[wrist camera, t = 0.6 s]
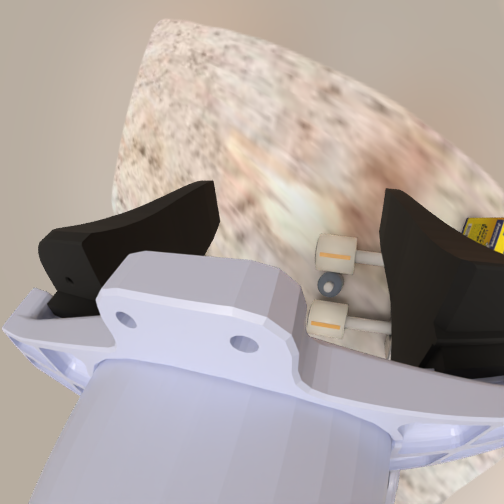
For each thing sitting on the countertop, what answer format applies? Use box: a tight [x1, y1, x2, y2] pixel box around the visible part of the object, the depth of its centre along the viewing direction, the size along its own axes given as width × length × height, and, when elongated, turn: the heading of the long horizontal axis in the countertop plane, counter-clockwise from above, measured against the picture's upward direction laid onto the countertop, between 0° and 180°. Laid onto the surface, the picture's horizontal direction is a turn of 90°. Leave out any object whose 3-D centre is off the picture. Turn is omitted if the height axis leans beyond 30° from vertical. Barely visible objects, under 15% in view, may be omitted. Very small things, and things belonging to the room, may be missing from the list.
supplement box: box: [462, 218, 504, 254], centre depth 21 cm, size 6×6×11 cm
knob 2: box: [307, 299, 391, 339], centre depth 30 cm, size 4×11×4 cm, turn 86°
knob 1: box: [315, 233, 384, 275], centre depth 29 cm, size 4×10×4 cm, turn 86°
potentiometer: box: [318, 271, 344, 297], centre depth 32 cm, size 4×3×4 cm
